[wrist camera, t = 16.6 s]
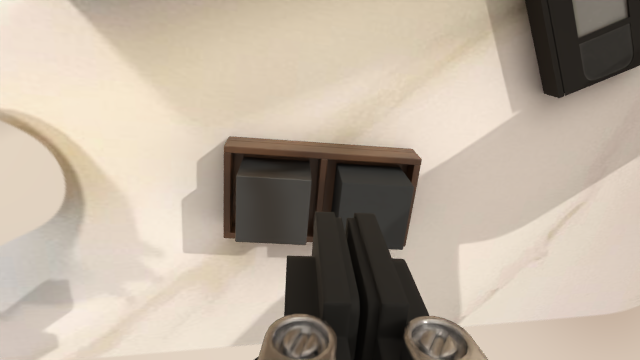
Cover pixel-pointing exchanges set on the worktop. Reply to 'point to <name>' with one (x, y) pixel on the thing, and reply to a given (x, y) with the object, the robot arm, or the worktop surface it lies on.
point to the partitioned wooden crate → (292, 184)
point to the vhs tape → (583, 41)
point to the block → (374, 198)
